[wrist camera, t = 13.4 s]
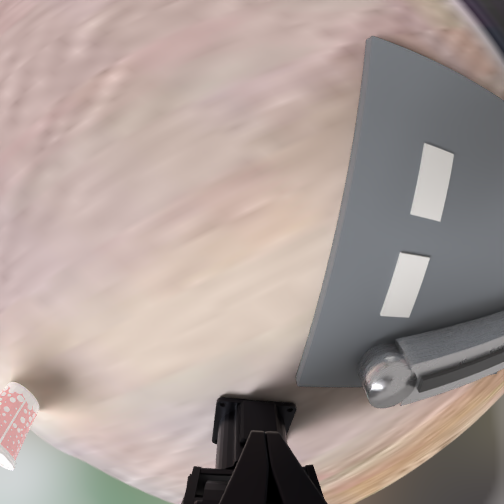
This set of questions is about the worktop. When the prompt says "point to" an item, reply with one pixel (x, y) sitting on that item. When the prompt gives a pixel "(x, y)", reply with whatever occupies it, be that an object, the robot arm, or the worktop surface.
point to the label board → (411, 214)
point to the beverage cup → (15, 421)
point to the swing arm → (432, 361)
